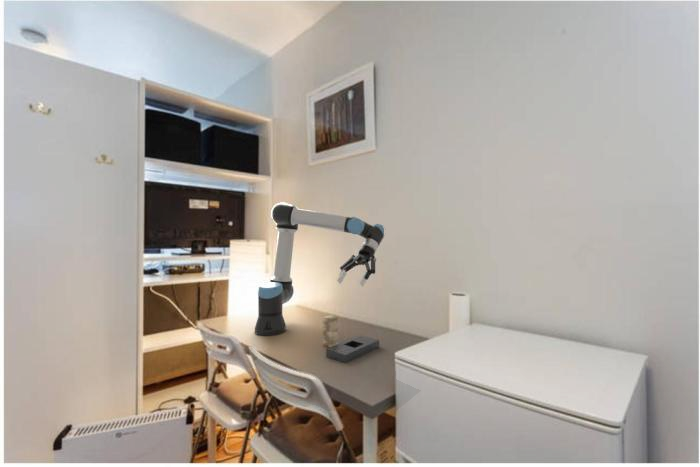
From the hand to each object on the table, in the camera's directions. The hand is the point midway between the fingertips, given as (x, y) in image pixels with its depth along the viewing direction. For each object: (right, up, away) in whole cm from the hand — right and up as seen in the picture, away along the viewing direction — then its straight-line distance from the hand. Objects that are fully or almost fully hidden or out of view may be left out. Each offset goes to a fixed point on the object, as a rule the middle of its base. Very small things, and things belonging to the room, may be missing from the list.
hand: (349, 283), depth 147 cm
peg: (-8, -25, -10) cm, 28 cm away
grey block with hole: (+2, -25, -19) cm, 31 cm away
